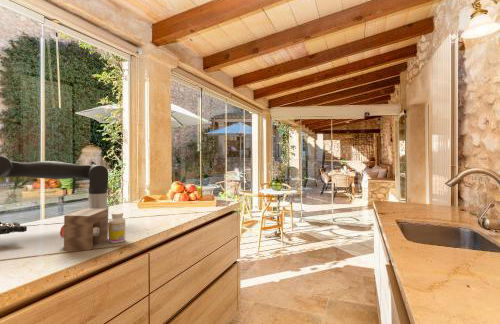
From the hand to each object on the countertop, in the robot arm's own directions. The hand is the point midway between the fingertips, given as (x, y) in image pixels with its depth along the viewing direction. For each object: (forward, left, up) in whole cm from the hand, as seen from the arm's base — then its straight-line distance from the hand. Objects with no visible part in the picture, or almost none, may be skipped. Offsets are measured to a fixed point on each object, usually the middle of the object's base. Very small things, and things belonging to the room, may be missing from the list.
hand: (25, 229), depth 120 cm
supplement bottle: (-24, +28, -7) cm, 37 cm away
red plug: (-12, +20, -3) cm, 24 cm away
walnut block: (-14, +21, -7) cm, 26 cm away
